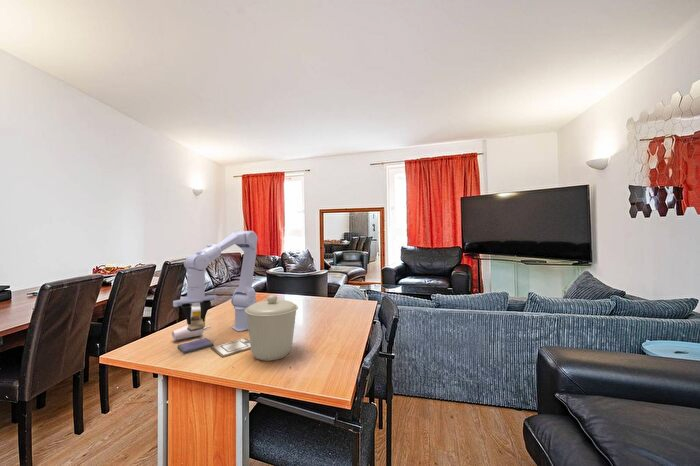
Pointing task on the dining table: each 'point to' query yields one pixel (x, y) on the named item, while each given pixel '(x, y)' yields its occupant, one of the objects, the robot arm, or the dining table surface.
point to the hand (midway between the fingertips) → (195, 322)
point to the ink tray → (195, 345)
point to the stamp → (195, 324)
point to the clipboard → (232, 347)
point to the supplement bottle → (196, 311)
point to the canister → (271, 327)
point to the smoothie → (186, 333)
